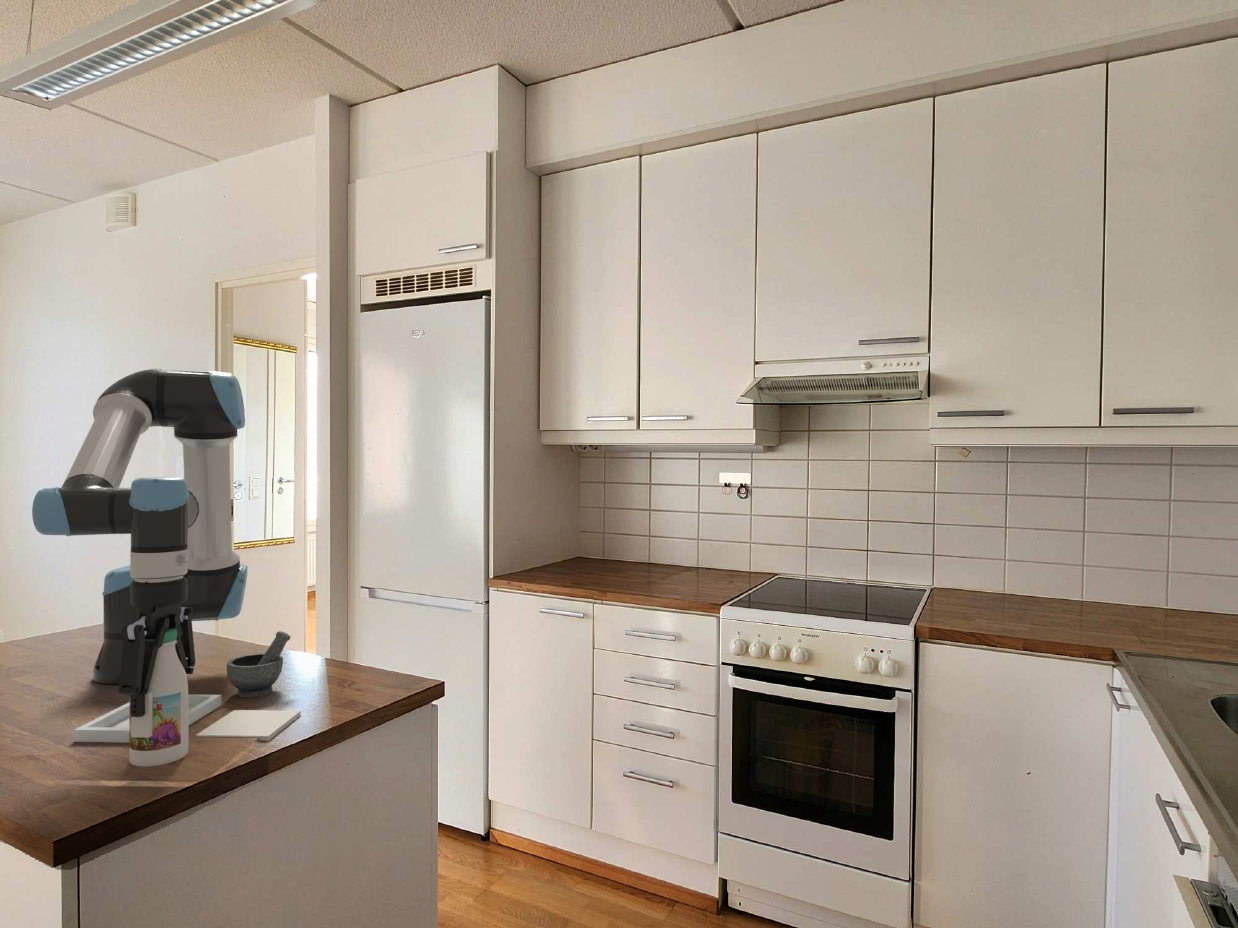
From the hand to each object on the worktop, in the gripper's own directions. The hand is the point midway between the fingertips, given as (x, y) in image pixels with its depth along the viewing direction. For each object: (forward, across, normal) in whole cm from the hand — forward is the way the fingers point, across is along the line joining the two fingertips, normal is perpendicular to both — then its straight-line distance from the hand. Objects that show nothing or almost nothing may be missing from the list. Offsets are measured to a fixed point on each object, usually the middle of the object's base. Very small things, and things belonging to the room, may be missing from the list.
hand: (159, 725), depth 115 cm
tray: (+5, +14, +10) cm, 18 cm away
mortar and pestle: (+5, +31, 0) cm, 31 cm away
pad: (+5, +14, -7) cm, 16 cm away
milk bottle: (+5, 0, 0) cm, 5 cm away
